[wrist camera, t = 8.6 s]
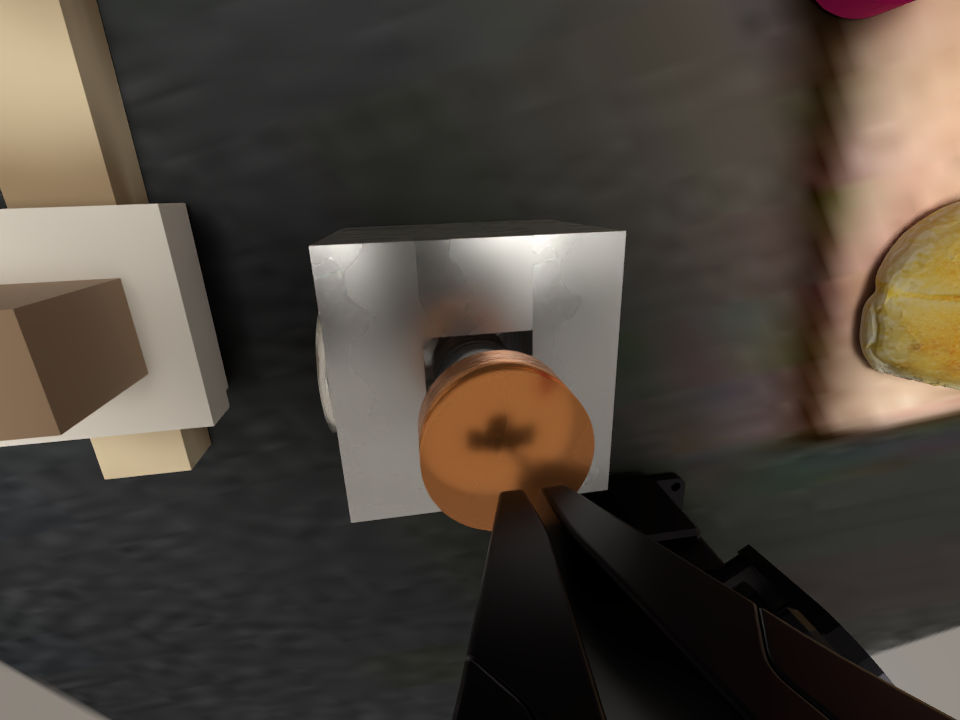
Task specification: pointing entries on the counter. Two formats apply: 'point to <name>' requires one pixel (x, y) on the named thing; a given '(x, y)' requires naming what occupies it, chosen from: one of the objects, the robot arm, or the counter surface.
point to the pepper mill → (860, 7)
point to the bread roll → (918, 304)
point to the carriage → (104, 324)
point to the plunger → (497, 429)
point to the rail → (75, 162)
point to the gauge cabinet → (455, 333)
